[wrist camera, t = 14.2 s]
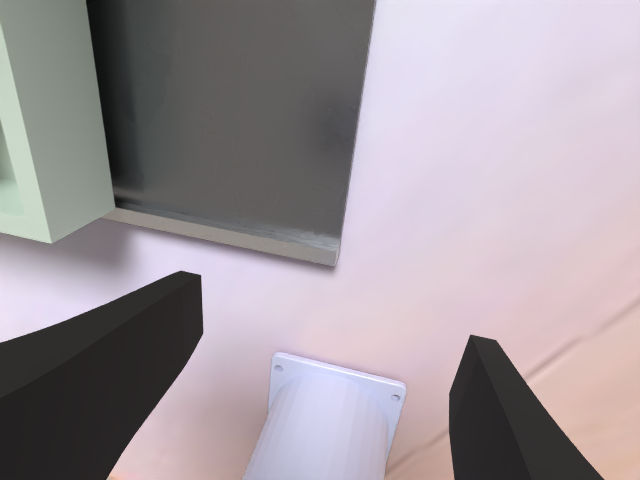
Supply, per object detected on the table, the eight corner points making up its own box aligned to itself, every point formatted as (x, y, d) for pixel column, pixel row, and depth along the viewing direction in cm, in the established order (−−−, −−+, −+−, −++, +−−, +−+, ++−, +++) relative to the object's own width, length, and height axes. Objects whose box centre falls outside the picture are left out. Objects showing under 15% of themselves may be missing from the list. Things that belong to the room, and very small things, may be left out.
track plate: (338, 256, 20) (333, 268, 19) (-110, 165, 25) (-134, 171, 23) (400, -169, 13) (398, -187, 12) (-257, -198, 17) (-301, -213, 16)
